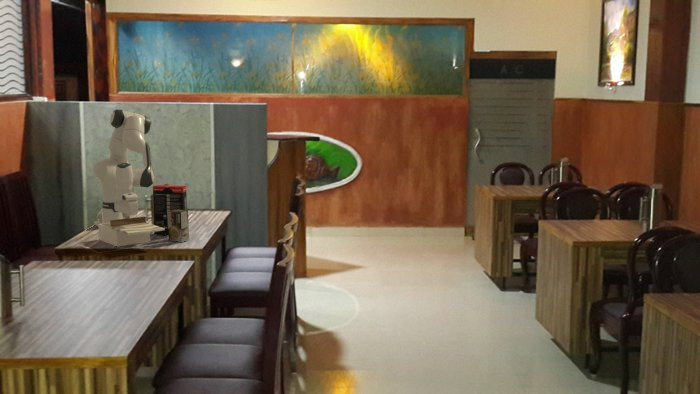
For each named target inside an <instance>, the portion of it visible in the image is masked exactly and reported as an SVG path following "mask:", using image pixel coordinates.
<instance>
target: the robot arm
mask: <svg viewBox="0 0 700 394" xmlns="http://www.w3.org/2000/svg"><path fill="white" fill-rule="evenodd" d="M109 118H110V119H109V121H110V122H109V123H110V126H111V127H112V128H114V129H113V132H112V135H111V138H110V141H109V144H108V149H109V151H110V156H109V158H106V159H101V160H99V161H97V162H96V163H95V164H94V165H93V167H92V168H93V170H92V173H93V174H94V176H95V177H96V178H97V179H98V181H99V183H100V185H101V190H102V200H103V201H102V203H101V205H102V206H101V209H100V210H99V212H98V213H97V214H96V216H95V218H96V221H93V224H94V225H95V226H96V227H98V224H104V223H110V220H118V219H127V218H131V216H133V217H134V216H137V215H138V212H139V208H138V207H139V205H138V200H139V195H138V194H137V193H136V192H135V189H134V188H138V187H140V188H150V187H151V186H153V184H154V182H155V175H154V170H153V163H152V154H151V153H152V152H151V148H150V144H149V142H147V141H146V140H145V135H147V134H148V133H150V131H151V128H152V120H151V118H150V117H148V116H146V115H142V114H140V113H137V112H132V111H128V110H123V109H114V110H113V111H112V113H111V115H110V116H109ZM129 151H131V152H134V153H137V154H139V155H140V156H141V155H142V160H143V161H142V163H143V167H140V168H139V167H138V168H137V167H134V168H133V165H132V164H131V163H130V162H129V161H128V156H129Z"/></svg>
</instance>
